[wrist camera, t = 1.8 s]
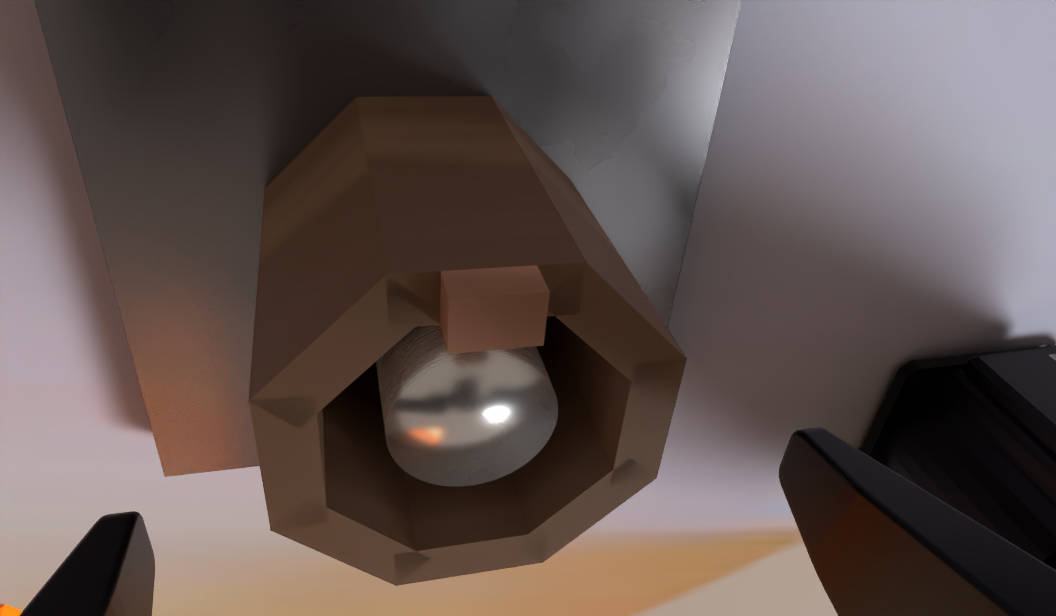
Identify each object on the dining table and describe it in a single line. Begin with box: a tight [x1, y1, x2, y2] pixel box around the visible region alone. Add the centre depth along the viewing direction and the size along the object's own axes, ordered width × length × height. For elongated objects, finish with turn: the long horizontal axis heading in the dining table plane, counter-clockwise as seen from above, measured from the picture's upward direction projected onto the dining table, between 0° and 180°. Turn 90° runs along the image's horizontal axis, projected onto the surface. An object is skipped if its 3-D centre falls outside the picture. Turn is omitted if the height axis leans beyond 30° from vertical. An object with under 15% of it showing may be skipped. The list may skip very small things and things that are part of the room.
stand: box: [35, 0, 742, 486], centre depth 14 cm, size 12×12×7 cm
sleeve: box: [249, 96, 687, 586], centre depth 13 cm, size 6×6×7 cm
